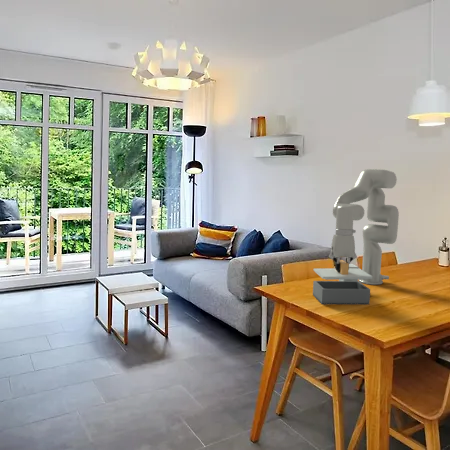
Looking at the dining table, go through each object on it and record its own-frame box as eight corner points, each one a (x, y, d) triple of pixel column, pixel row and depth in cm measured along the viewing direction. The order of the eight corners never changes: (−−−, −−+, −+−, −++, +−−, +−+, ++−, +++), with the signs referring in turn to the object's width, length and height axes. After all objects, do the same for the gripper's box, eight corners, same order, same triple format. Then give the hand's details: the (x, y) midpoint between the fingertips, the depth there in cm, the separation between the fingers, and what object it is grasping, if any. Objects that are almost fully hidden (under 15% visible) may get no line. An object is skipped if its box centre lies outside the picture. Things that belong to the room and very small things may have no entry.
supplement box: (338, 287, 230) (339, 263, 229) (352, 287, 231) (353, 263, 229) (343, 291, 223) (344, 266, 221) (357, 291, 223) (359, 266, 222)
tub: (357, 295, 216) (358, 281, 216) (369, 304, 202) (370, 289, 201) (312, 295, 215) (313, 280, 214) (321, 304, 200) (322, 289, 199)
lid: (359, 272, 216) (360, 258, 215) (372, 280, 200) (373, 265, 199) (313, 272, 214) (314, 258, 213) (322, 280, 199) (323, 265, 198)
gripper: (358, 231, 209) (356, 269, 211) (324, 231, 207) (322, 269, 210) (364, 233, 201) (362, 273, 204) (329, 233, 200) (327, 273, 203)
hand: (342, 271), depth 207 cm, fingers closed on lid, 3 cm apart
